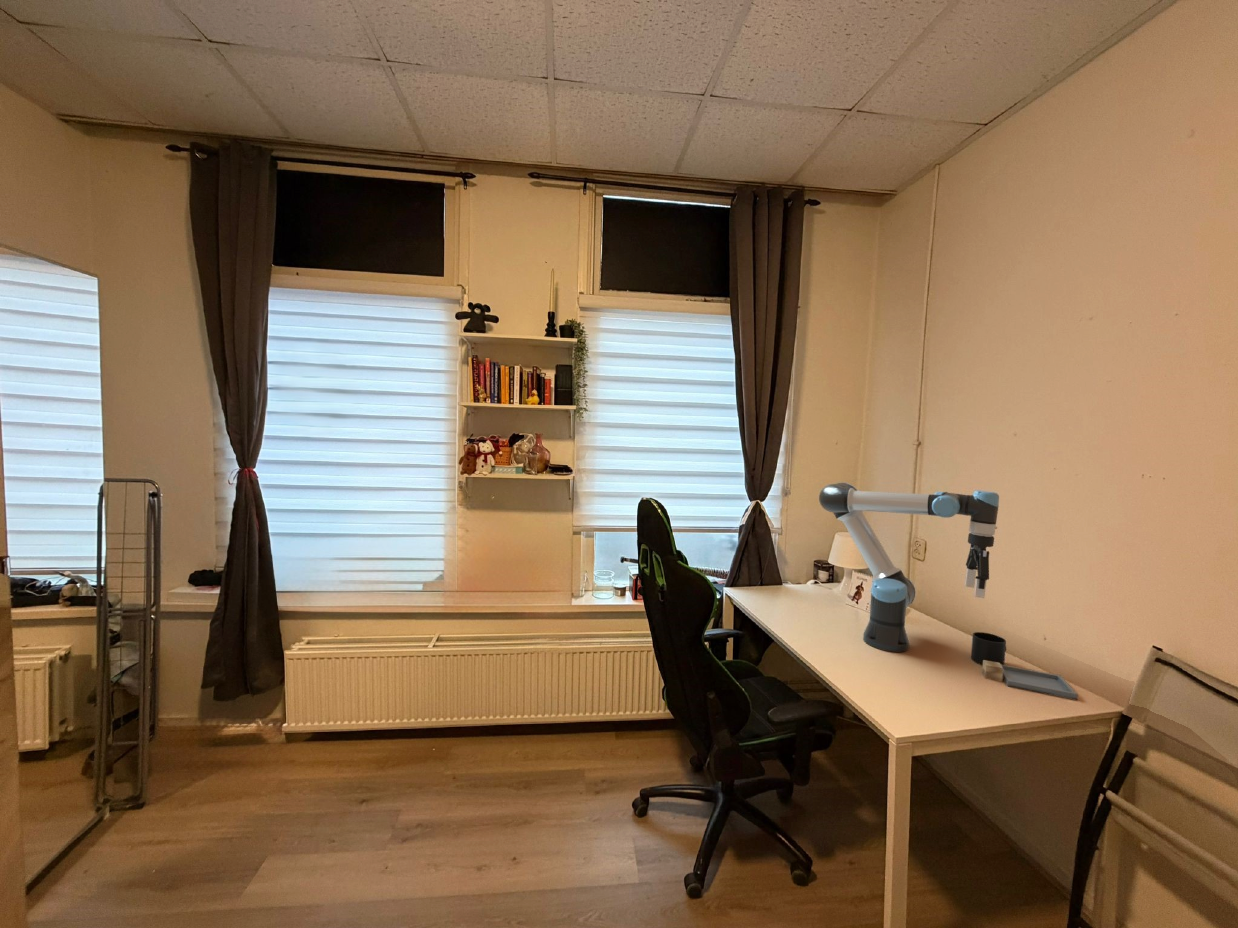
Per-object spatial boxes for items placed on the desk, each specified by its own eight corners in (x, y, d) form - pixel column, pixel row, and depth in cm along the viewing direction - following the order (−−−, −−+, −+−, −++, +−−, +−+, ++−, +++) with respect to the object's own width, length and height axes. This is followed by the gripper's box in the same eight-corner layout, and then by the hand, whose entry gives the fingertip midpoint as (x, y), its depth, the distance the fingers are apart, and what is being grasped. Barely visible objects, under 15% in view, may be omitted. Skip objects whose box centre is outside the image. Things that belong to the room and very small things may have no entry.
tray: (1007, 686, 158) (1008, 680, 158) (996, 668, 171) (996, 663, 171) (1077, 700, 151) (1077, 694, 151) (1059, 680, 164) (1060, 675, 164)
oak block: (985, 678, 164) (986, 664, 163) (982, 672, 168) (983, 659, 167) (1002, 681, 162) (1003, 668, 161) (998, 676, 166) (999, 662, 166)
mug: (1017, 667, 173) (1019, 641, 172) (987, 668, 171) (989, 642, 170) (992, 655, 182) (994, 631, 182) (964, 656, 180) (966, 632, 180)
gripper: (1005, 542, 167) (997, 604, 168) (984, 529, 189) (977, 584, 191) (978, 538, 169) (970, 599, 171) (961, 527, 192) (954, 581, 194)
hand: (974, 591), depth 181 cm, fingers open, 13 cm apart
